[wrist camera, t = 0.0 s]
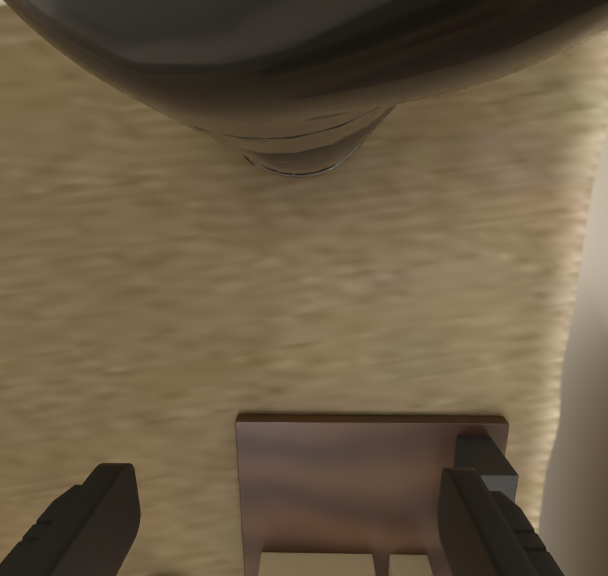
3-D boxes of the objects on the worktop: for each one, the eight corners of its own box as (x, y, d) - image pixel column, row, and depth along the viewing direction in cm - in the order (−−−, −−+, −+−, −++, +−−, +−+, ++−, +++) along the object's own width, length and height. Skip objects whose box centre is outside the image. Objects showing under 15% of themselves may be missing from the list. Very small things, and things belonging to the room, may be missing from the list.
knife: (456, 435, 28) (480, 475, 24) (490, 435, 27) (519, 475, 24) (436, 628, 32) (453, 688, 28) (465, 629, 32) (485, 689, 28)
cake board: (237, 414, 29) (234, 421, 28) (503, 415, 28) (509, 423, 27) (251, 652, 35) (250, 666, 34) (470, 658, 34) (474, 671, 33)
